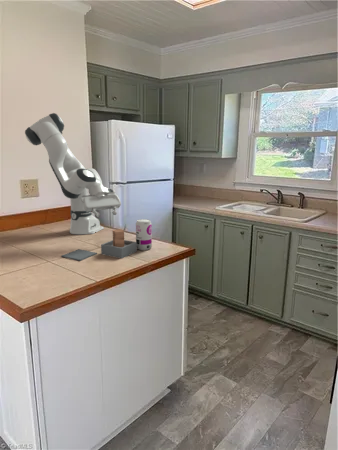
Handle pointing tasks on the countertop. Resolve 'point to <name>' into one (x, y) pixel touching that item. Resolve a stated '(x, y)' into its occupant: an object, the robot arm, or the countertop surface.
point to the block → (118, 238)
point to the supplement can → (143, 234)
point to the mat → (79, 254)
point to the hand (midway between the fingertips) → (106, 215)
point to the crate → (118, 249)
